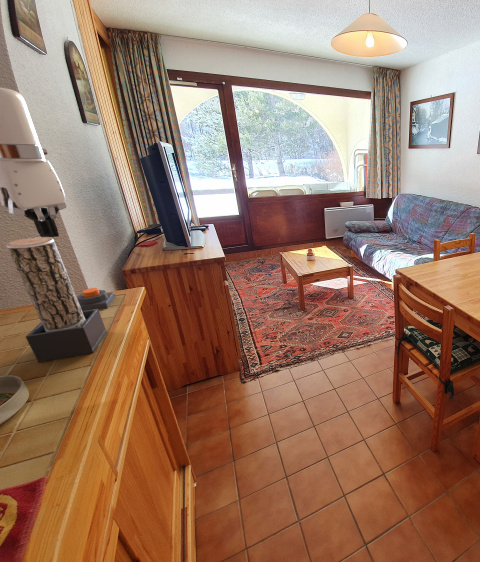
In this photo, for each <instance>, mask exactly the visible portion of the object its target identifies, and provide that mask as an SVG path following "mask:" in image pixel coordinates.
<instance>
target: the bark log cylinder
mask: <svg viewBox="0 0 480 562" xmlns="http://www.w3.org/2000/svg"><path fill="white" fill-rule="evenodd" d="M5 246H6V249H7V251H8V253H9V256H10V257H11V260H12V262H13V264H14V266H15V268H16V270H17V273H18V274H19V277H20V279H21V281H22V283H23V285H24V287H25V289H26V292H27V294H28V296H29V298H30V301H31V303H32V305H33V307H34V310H35V311H36V314H37V315H38V318H39V320H40V323H41V322H42V324H43V326H44V329H45V331H46V332H51V331H58V330H64V329H71V328H77V327H81V326H82V325H83V324H84V323H85V321H86V319H85V317H84V314H83V312H82V309H81V307H80V304H79V302H78V299H77V297H78V296H77V295H76V291H75V289H74V287H73V285H72V282H71V279H70V277H69V275H68V271H67V269H66V267H65V264H64V262H63V260H62V257H61V254H60V252H59V249H58V246H57V244H56V242H55V239H54V237H53V238H51V237H41V236H37V237H27V238H22V239H16V240H13V241H12V240H11V241H9V242H7V243H5Z"/></svg>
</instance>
